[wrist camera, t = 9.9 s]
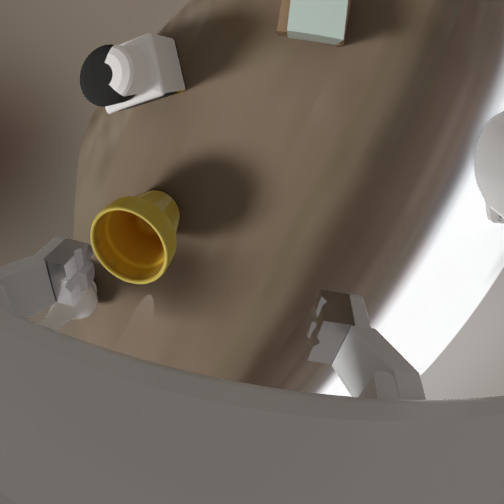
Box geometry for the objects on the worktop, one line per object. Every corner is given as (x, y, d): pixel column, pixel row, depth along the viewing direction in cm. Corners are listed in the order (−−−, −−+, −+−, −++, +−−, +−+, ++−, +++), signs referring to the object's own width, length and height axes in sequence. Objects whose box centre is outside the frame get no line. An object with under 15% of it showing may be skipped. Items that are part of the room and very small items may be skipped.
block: (348, -5, 25) (352, -12, 23) (339, 46, 29) (343, 44, 26) (286, -18, 25) (286, -25, 23) (277, 34, 29) (276, 30, 27)
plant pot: (134, 246, 46) (104, 284, 38) (117, 181, 41) (78, 210, 32) (198, 244, 44) (177, 286, 36) (186, 173, 39) (156, 203, 31)
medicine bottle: (135, 106, 35) (80, 123, 25) (123, 56, 32) (65, 57, 21) (186, 91, 34) (143, 99, 23) (174, 37, 30) (126, 26, 20)
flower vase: (51, 228, 46) (-45, 322, 25) (133, 293, 51) (63, 414, 30) (37, 272, 52) (-37, 360, 31) (108, 328, 57) (51, 431, 36)
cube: (340, 4, 24) (348, -8, 20) (336, 45, 27) (343, 39, 22) (292, -4, 24) (292, -17, 20) (287, 37, 27) (287, 30, 23)
